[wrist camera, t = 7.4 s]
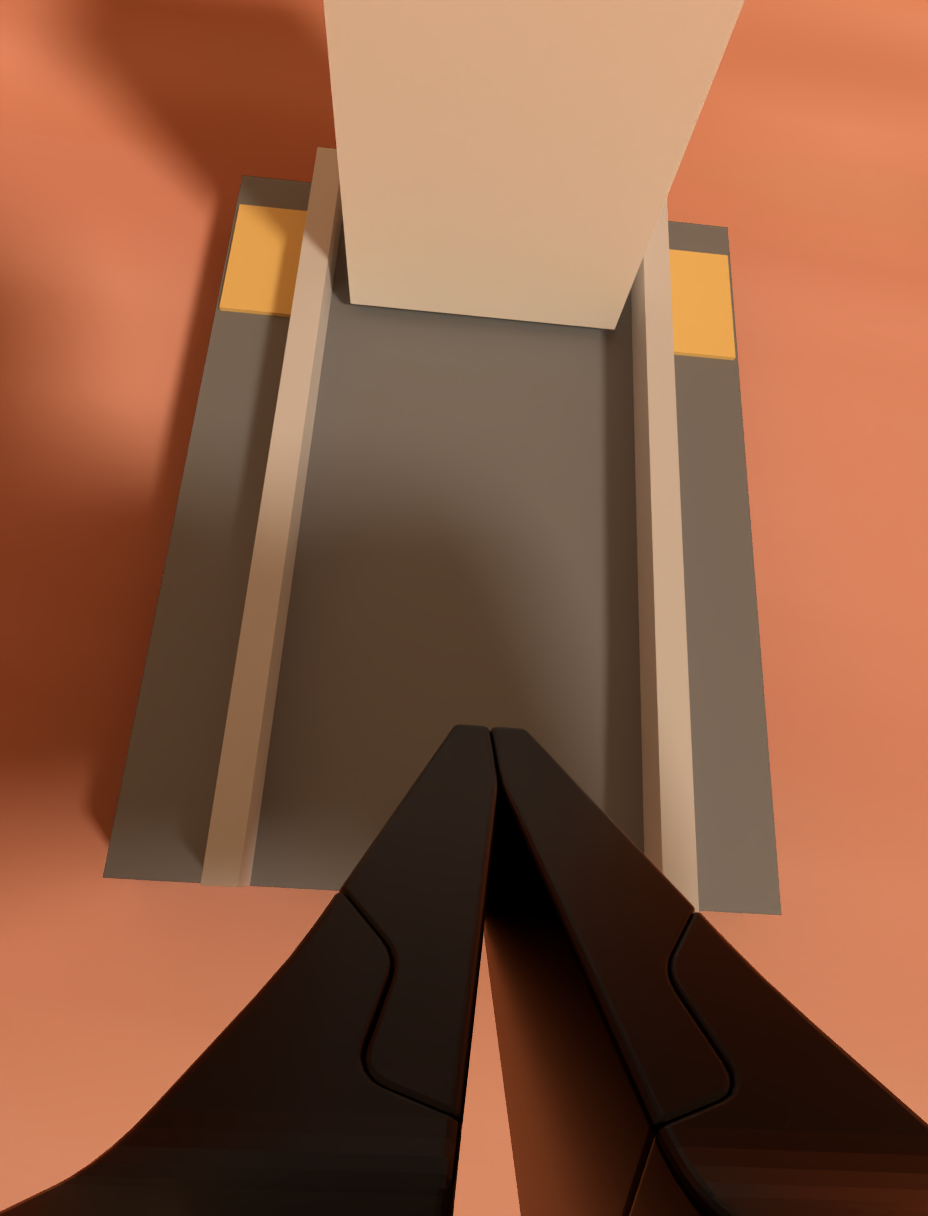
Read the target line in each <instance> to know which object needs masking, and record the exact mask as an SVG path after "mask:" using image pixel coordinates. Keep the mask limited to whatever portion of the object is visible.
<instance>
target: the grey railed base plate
mask: <svg viewBox="0 0 928 1216" xmlns="http://www.w3.org/2000/svg"><path fill="white" fill-rule="evenodd" d="M457 724H463V725H478V726H486V727H487V728H489V730H490V731H491V729H492V728H494V727H508V728H522V729H525V730H526V731H528V732H529V733H530V734H531V735H532V736H533V737H534V739H535V740H536V741H537V742H538V743H539V744H540V745H541V746H542V747H543V748H544V749H545V750H546V751H547V752H548V753H549V754H550V755H551V756H552V757H553V759H554V760H555V761H556V762H557V763H558V764H559V765H560V766H561V767H562V768H563V769H564V770H565V771H566V772H567V773H568V774H569V775H570V776H571V778H572V779H573V780H574V781H575V782H576V783H577V784H578V785H579V786H580V787H581V788H582V789H583V790H584V791H585V792H586V793H587V794H588V795H589V796H590V798H591V799H592V800H593V801H594V802H595V803H596V804H597V805H598V806H599V807H600V808H601V809H602V810H603V811H604V812H605V813H606V814H607V815H608V816H609V818H610V819H611V820H612V821H613V822H614V823H615V824H616V825H617V826H618V827H619V828H620V829H621V830H622V831H623V832H624V833H625V834H626V835H627V837H628V838H629V839H630V840H631V841H632V842H633V843H634V844H635V845H636V846H637V847H638V848H639V849H640V850H641V851H642V852H643V853H644V854H645V855H646V857H647V858H648V859H649V860H650V861H651V862H652V863H653V864H654V865H655V866H656V867H657V868H658V869H659V870H660V871H661V872H662V873H663V874H664V875H665V877H666V878H667V879H668V880H669V881H670V882H671V883H672V884H673V885H674V886H675V887H676V888H677V889H678V890H679V891H680V892H681V893H682V894H683V896H684V897H685V898H686V899H687V900H688V901H689V902H690V903H691V904H692V905H693V906H694V908H695V912H699V911H715V912H733V913H751V914H769V915H781V904H780V891H779V878H778V865H777V853H776V840H775V827H774V814H773V801H772V789H771V776H770V763H769V750H768V738H767V725H766V712H765V699H764V686H763V674H762V661H761V648H760V635H759V623H758V610H757V597H756V584H755V572H754V559H753V546H752V533H751V520H750V508H749V495H748V482H747V469H746V457H745V444H744V431H743V418H742V406H741V393H740V380H739V367H738V354H737V342H736V329H735V316H734V303H733V291H732V278H731V265H730V252H729V240H728V227H720V226H711V225H701V224H692V223H683V222H673V221H668V211H667V198H666V201H665V203H664V206H663V208H662V211H661V213H660V216H659V218H658V221H657V224H656V226H655V229H654V231H653V234H652V236H651V239H650V241H649V244H648V246H647V249H646V251H645V254H644V256H643V259H642V261H641V264H640V266H639V269H638V272H637V274H636V277H635V279H634V282H633V284H632V287H631V289H630V292H629V294H628V297H627V299H626V302H625V304H624V307H623V309H622V312H621V315H620V317H619V320H618V322H617V325H616V327H615V330H613V329H603V328H593V327H583V326H572V325H562V324H552V323H542V322H532V321H522V320H512V319H501V318H491V317H481V316H471V315H461V314H451V313H441V312H430V311H420V310H410V309H400V308H390V307H380V306H370V305H359V304H351V302H350V291H349V280H348V269H347V258H346V247H345V236H344V224H343V213H342V202H341V191H340V180H339V169H338V158H337V149H333V148H324V147H317V153H316V159H315V165H314V172H313V178H312V183H310V182H300V181H291V180H282V179H272V178H263V177H254V176H244V175H243V176H242V181H241V186H240V191H239V196H238V201H237V206H236V211H235V216H234V221H233V226H232V231H231V236H230V241H229V246H228V251H227V256H226V261H225V266H224V271H223V276H222V281H221V286H220V291H219V296H218V301H217V306H216V311H215V316H214V321H213V326H212V331H211V336H210V341H209V346H208V351H207V357H206V362H205V367H204V372H203V377H202V382H201V387H200V392H199V397H198V402H197V407H196V412H195V417H194V422H193V427H192V432H191V437H190V442H189V447H188V452H187V457H186V462H185V467H184V472H183V477H182V482H181V487H180V492H179V497H178V502H177V507H176V512H175V517H174V522H173V527H172V532H171V537H170V542H169V547H168V552H167V557H166V562H165V567H164V572H163V577H162V583H161V588H160V593H159V598H158V603H157V608H156V613H155V618H154V623H153V628H152V633H151V638H150V643H149V648H148V653H147V658H146V663H145V668H144V673H143V678H142V683H141V688H140V693H139V698H138V703H137V708H136V713H135V718H134V723H133V728H132V733H131V738H130V743H129V748H128V753H127V758H126V763H125V768H124V773H123V778H122V783H121V788H120V793H119V798H118V803H117V809H116V814H115V819H114V824H113V829H112V834H111V839H110V844H109V849H108V854H107V859H106V864H105V869H104V874H103V878H118V879H136V880H154V881H172V882H190V883H201V884H200V885H208V886H227V887H244V886H262V887H281V888H299V889H317V890H335V891H340V888H341V887H342V885H343V884H344V882H345V881H346V879H347V878H348V877H349V875H350V874H351V872H352V871H353V869H354V868H355V867H356V865H357V864H358V862H359V861H360V859H361V858H362V857H363V855H364V854H365V852H366V851H367V849H368V848H369V847H370V845H371V844H372V842H373V841H374V839H375V838H376V837H377V835H378V834H379V832H380V831H381V829H382V828H383V827H384V825H385V824H386V822H387V821H388V819H389V818H390V817H391V815H392V814H393V812H394V811H395V809H396V808H397V807H398V805H399V804H400V802H401V801H402V799H403V798H404V797H405V795H406V794H407V792H408V791H409V789H410V788H411V787H412V785H413V784H414V782H415V781H416V779H417V778H418V777H419V775H420V774H421V772H422V771H423V769H424V768H425V767H426V765H427V764H428V762H429V761H430V759H431V758H432V757H433V755H434V754H435V752H436V751H437V749H438V748H439V747H440V745H441V744H442V742H443V741H444V739H445V738H446V737H447V735H448V734H449V732H450V731H451V729H452V728H453V727H454V726H455V725H457Z"/></svg>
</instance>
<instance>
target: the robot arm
mask: <svg viewBox="0 0 928 1216" xmlns="http://www.w3.org/2000/svg"><path fill="white" fill-rule="evenodd" d="M483 934H484V937H485V945H486V953H487V960H488V968H489V976H490V983H491V991H492V999H493V1006H494V1014H495V1021H496V1029H497V1037H498V1044H499V1052H500V1060H501V1067H502V1075H503V1082H504V1090H505V1098H506V1105H507V1113H508V1121H509V1128H510V1136H511V1143H512V1151H513V1159H514V1166H515V1174H516V1182H517V1189H518V1197H519V1204H520V1212H521V1216H928V1124H927V1123H926V1122H925V1121H924V1120H922V1119H921V1118H920V1117H919V1116H918V1115H917V1114H916V1113H915V1112H913V1111H912V1110H911V1109H910V1108H909V1107H908V1106H907V1105H905V1104H904V1103H903V1102H902V1101H901V1100H900V1099H899V1098H898V1097H896V1096H895V1095H894V1094H893V1093H892V1092H891V1091H890V1090H889V1089H887V1088H886V1087H885V1086H884V1085H883V1084H882V1083H881V1082H879V1081H878V1080H877V1079H876V1078H875V1077H874V1076H873V1075H872V1074H870V1073H869V1072H868V1071H867V1070H866V1069H865V1068H864V1067H862V1066H861V1065H860V1064H859V1063H858V1062H857V1061H856V1060H855V1059H853V1058H852V1057H851V1056H850V1055H849V1054H848V1053H847V1052H845V1051H844V1050H843V1049H842V1048H841V1047H840V1046H839V1045H838V1044H836V1043H835V1042H834V1041H833V1040H832V1039H831V1038H830V1037H828V1036H827V1035H826V1034H825V1033H824V1032H823V1031H822V1030H821V1029H819V1028H818V1027H817V1026H816V1025H815V1024H814V1023H813V1022H812V1021H810V1020H809V1019H808V1018H807V1017H806V1016H805V1015H804V1014H803V1013H802V1012H801V1011H800V1010H798V1009H797V1008H796V1007H795V1006H794V1005H793V1004H792V1003H791V1002H790V1001H789V1000H788V999H787V998H785V997H784V996H783V995H782V994H781V993H780V992H779V991H778V990H777V989H776V988H775V987H773V986H772V985H771V984H770V983H769V982H768V981H767V980H766V979H765V978H764V977H763V976H762V975H761V974H760V973H759V972H758V971H757V970H756V969H755V968H754V967H753V966H752V965H751V964H750V963H749V962H748V961H747V960H746V959H745V958H744V957H743V956H742V955H741V954H740V953H739V952H738V951H737V950H736V949H735V948H734V947H733V946H732V945H731V944H730V943H729V942H728V941H727V940H726V939H725V938H724V937H723V936H722V935H721V934H720V933H719V932H718V931H717V930H716V929H715V928H714V927H713V926H712V925H711V924H710V923H709V921H708V920H707V919H706V918H705V917H704V916H703V915H702V914H701V913H699V912H695V908H694V906H693V905H692V904H691V903H690V902H689V901H688V900H687V899H686V898H685V897H684V896H683V894H682V893H681V892H680V891H679V890H678V889H677V888H676V887H675V886H674V885H673V884H672V883H671V882H670V881H669V880H668V879H667V878H666V877H665V875H664V874H663V873H662V872H661V871H660V870H659V869H658V868H657V867H656V866H655V865H654V864H653V863H652V862H651V861H650V860H649V859H648V858H647V857H646V855H645V854H644V853H643V852H642V851H641V850H640V849H639V848H638V847H637V846H636V845H635V844H634V843H633V842H632V841H631V840H630V839H629V838H628V837H627V835H626V834H625V833H624V832H623V831H622V830H621V829H620V828H619V827H618V826H617V825H616V824H615V823H614V822H613V821H612V820H611V819H610V818H609V816H608V815H607V814H606V813H605V812H604V811H603V810H602V809H601V808H600V807H599V806H598V805H597V804H596V803H595V802H594V801H593V800H592V799H591V798H590V796H589V795H588V794H587V793H586V792H585V791H584V790H583V789H582V788H581V787H580V786H579V785H578V784H577V783H576V782H575V781H574V780H573V779H572V778H571V776H570V775H569V774H568V773H567V772H566V771H565V770H564V769H563V768H562V767H561V766H560V765H559V764H558V763H557V762H556V761H555V760H554V759H553V757H552V756H551V755H550V754H549V753H548V752H547V751H546V750H545V749H544V748H543V747H542V746H541V745H540V744H539V743H538V742H537V741H536V740H535V739H534V737H533V736H532V735H531V734H530V733H529V732H528V731H526V730H525V729H522V728H508V727H494V728H492V729H491V731H490V730H489V728H487V727H486V726H478V725H463V724H457V725H455V726H454V727H453V728H452V729H451V731H450V732H449V734H448V735H447V737H446V738H445V739H444V741H443V742H442V744H441V745H440V747H439V748H438V749H437V751H436V752H435V754H434V755H433V757H432V758H431V759H430V761H429V762H428V764H427V765H426V767H425V768H424V769H423V771H422V772H421V774H420V775H419V777H418V778H417V779H416V781H415V782H414V784H413V785H412V787H411V788H410V789H409V791H408V792H407V794H406V795H405V797H404V798H403V799H402V801H401V802H400V804H399V805H398V807H397V808H396V809H395V811H394V812H393V814H392V815H391V817H390V818H389V819H388V821H387V822H386V824H385V825H384V827H383V828H382V829H381V831H380V832H379V834H378V835H377V837H376V838H375V839H374V841H373V842H372V844H371V845H370V847H369V848H368V849H367V851H366V852H365V854H364V855H363V857H362V858H361V859H360V861H359V862H358V864H357V865H356V867H355V868H354V869H353V871H352V872H351V874H350V875H349V877H348V878H347V879H346V881H345V882H344V884H343V885H342V887H341V888H340V891H339V893H337V894H336V895H335V896H334V897H333V899H332V900H331V902H330V903H329V905H328V906H327V907H326V909H325V910H324V912H323V913H322V915H321V916H320V917H319V919H318V920H317V922H316V923H315V924H314V926H313V927H312V928H311V929H310V931H309V932H308V933H307V935H306V936H305V937H304V939H303V940H302V941H301V943H300V944H299V945H298V947H297V948H296V949H295V951H294V952H293V953H292V954H291V956H290V957H289V958H288V959H287V960H286V962H285V963H284V964H283V965H282V966H281V967H280V968H279V970H278V971H277V972H276V973H275V974H274V975H273V976H272V978H271V979H270V980H269V981H268V982H267V983H266V984H265V986H264V987H263V988H262V989H261V990H260V991H259V992H258V994H257V995H256V996H255V997H254V998H253V999H252V1000H251V1001H250V1002H249V1004H248V1005H247V1006H246V1007H245V1008H244V1009H243V1010H242V1011H241V1012H240V1013H239V1014H238V1015H237V1017H236V1018H235V1019H234V1020H233V1021H232V1022H231V1023H230V1024H229V1025H228V1026H227V1027H226V1028H225V1029H224V1031H223V1032H222V1033H221V1034H220V1035H219V1036H218V1037H217V1038H216V1039H215V1040H214V1041H213V1042H212V1043H211V1045H210V1046H209V1047H208V1048H207V1049H206V1050H205V1051H204V1052H203V1053H202V1054H201V1055H200V1056H199V1058H198V1059H197V1060H196V1061H195V1062H194V1063H193V1064H192V1065H191V1066H190V1067H189V1068H188V1069H187V1070H186V1072H185V1073H184V1074H183V1075H182V1076H181V1077H180V1078H179V1079H178V1080H177V1081H176V1082H175V1083H174V1084H173V1086H172V1087H171V1088H170V1089H169V1090H168V1091H167V1092H166V1093H165V1094H164V1095H163V1096H162V1097H161V1099H160V1100H159V1101H158V1102H157V1103H156V1104H155V1105H154V1106H153V1107H152V1108H151V1109H150V1110H149V1111H148V1112H147V1113H146V1114H145V1115H144V1117H143V1118H142V1119H141V1120H140V1121H139V1122H138V1123H137V1124H136V1125H135V1126H134V1127H133V1128H132V1129H131V1130H130V1131H129V1132H127V1133H126V1134H125V1135H124V1136H123V1137H122V1138H121V1139H120V1140H119V1141H117V1142H116V1143H115V1144H114V1145H113V1146H112V1147H111V1148H109V1149H108V1150H107V1151H106V1152H104V1153H103V1154H102V1155H100V1156H99V1157H98V1158H97V1159H95V1160H94V1161H93V1162H92V1163H90V1164H89V1165H87V1166H86V1167H84V1168H83V1169H81V1170H80V1171H78V1172H77V1173H75V1174H74V1175H72V1176H71V1177H69V1178H68V1179H66V1180H64V1181H62V1182H60V1183H58V1184H56V1185H54V1186H52V1187H50V1188H48V1189H46V1190H44V1191H42V1192H40V1193H38V1194H36V1195H34V1196H32V1197H30V1198H27V1199H25V1200H23V1201H21V1202H19V1203H17V1204H15V1205H13V1206H11V1207H9V1208H7V1209H5V1210H3V1211H1V1212H0V1216H453V1211H454V1200H455V1190H456V1180H457V1170H458V1160H459V1151H460V1142H461V1129H462V1123H463V1114H464V1105H465V1096H466V1087H467V1078H468V1069H469V1060H470V1051H471V1042H472V1033H473V1024H474V1015H475V1006H476V997H477V988H478V979H479V970H480V961H481V952H482V943H483Z"/></svg>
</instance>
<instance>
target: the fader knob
mask: <svg viewBox="0 0 928 1216" xmlns="http://www.w3.org/2000/svg"><path fill="white" fill-rule="evenodd" d="M744 1H745V0H323V2H324V13H325V24H326V35H327V46H328V58H329V69H330V80H331V91H332V102H333V113H334V124H335V135H336V147H337V158H338V169H339V180H340V191H341V202H342V213H343V224H344V236H345V247H346V258H347V269H348V280H349V291H350V302H351V304H359V305H370V306H380V307H390V308H400V309H410V310H420V311H430V312H441V313H451V314H461V315H471V316H481V317H491V318H501V319H512V320H522V321H532V322H542V323H552V324H562V325H572V326H583V327H593V328H603V329H613V330H615V327H616V325H617V322H618V320H619V317H620V315H621V312H622V309H623V307H624V304H625V302H626V299H627V297H628V294H629V292H630V289H631V287H632V284H633V282H634V279H635V277H636V274H637V272H638V269H639V266H640V264H641V261H642V259H643V256H644V254H645V251H646V249H647V246H648V244H649V241H650V239H651V236H652V234H653V231H654V229H655V226H656V224H657V221H658V218H659V216H660V213H661V211H662V208H663V206H664V203H665V201H666V198H667V196H668V193H669V191H670V188H671V186H672V183H673V181H674V178H675V175H676V173H677V170H678V168H679V165H680V163H681V160H682V158H683V155H684V153H685V150H686V148H687V145H688V143H689V140H690V138H691V135H692V132H693V130H694V127H695V125H696V122H697V120H698V117H699V115H700V112H701V110H702V107H703V105H704V102H705V100H706V97H707V95H708V92H709V89H710V87H711V84H712V82H713V79H714V77H715V74H716V72H717V69H718V67H719V64H720V62H721V59H722V57H723V54H724V52H725V49H726V47H727V44H728V41H729V39H730V36H731V34H732V31H733V29H734V26H735V24H736V21H737V19H738V16H739V14H740V11H741V9H742V6H743V4H744Z"/></svg>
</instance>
